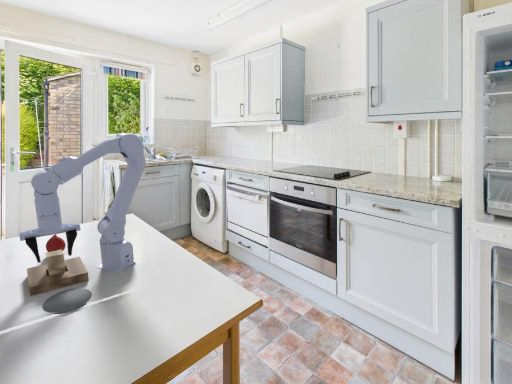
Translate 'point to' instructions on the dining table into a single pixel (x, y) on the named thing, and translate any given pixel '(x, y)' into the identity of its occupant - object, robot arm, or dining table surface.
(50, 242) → the red rounded piece
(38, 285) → the pocket block
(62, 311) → the coaster
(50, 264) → the peg
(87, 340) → the dining table surface
